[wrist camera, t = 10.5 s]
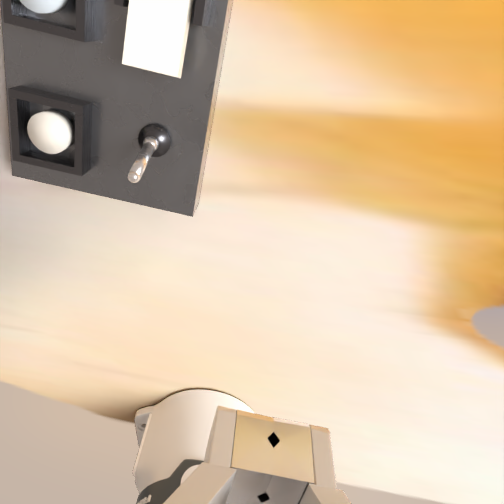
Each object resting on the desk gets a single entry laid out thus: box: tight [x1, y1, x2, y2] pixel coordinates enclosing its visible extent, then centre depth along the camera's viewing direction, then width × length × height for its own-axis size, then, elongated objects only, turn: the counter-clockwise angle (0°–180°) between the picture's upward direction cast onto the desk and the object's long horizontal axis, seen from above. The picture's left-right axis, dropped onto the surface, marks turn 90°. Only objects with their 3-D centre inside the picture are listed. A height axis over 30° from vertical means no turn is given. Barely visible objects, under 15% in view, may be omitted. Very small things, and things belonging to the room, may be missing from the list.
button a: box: [27, 110, 75, 154], centre depth 33 cm, size 3×3×1 cm
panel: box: [1, 0, 233, 217], centre depth 31 cm, size 22×16×6 cm
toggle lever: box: [128, 136, 159, 183], centre depth 31 cm, size 1×1×5 cm
